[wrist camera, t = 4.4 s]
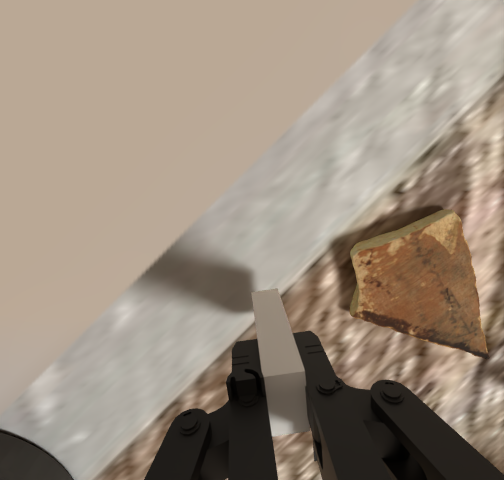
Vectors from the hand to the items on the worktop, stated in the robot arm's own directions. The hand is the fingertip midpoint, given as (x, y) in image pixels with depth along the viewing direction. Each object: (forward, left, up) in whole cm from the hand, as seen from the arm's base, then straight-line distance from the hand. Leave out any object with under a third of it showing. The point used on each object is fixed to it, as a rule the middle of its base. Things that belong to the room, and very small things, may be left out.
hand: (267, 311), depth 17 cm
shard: (+11, 0, -2) cm, 11 cm away
